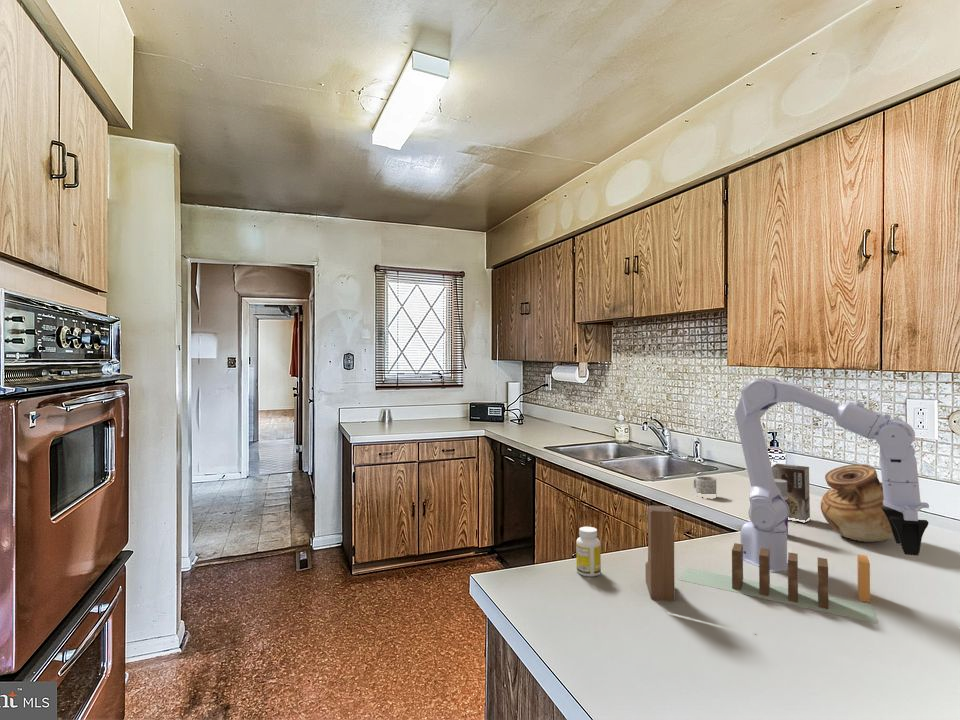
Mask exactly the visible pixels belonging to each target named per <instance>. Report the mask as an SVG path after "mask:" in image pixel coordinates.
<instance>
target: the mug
mask: <svg viewBox="0 0 960 720" xmlns="http://www.w3.org/2000/svg"><path fill="white" fill-rule="evenodd" d="M692 482H693V483H692V485H693V489H694V488H695V489H696V491H695V493H696V492H697V493H701V494H716V495H717V478H716V477H711V476H703V475H702V476H700V475H699V476H696V477H694V478H693V481H692Z"/></svg>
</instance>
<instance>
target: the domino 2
mask: <svg viewBox="0 0 960 720" xmlns="http://www.w3.org/2000/svg"><path fill="white" fill-rule="evenodd" d="M758 573H759V574H758V578H759V580H758V582H759V594H760V595H765V596H769V589H770V585H771V583H770V582H771V581H770V580H771V578H770V577H771V576H770V575H771V572H770V549H767V548H761V549H760V553H759V567H758Z"/></svg>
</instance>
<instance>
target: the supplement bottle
mask: <svg viewBox="0 0 960 720" xmlns="http://www.w3.org/2000/svg"><path fill="white" fill-rule="evenodd" d="M578 532H579V533H578V535H579V537H577V539H576V543H575V544H576V547H575V549H576V572H577V573H578V574H579V575H581V576H585V577H596V576H597V577H598V576H599V575H601V572H602V571H601V570H602V568H601V565H602V564H601V563H602V561H601V560H602V559H601V541H600V540H599V538H598V529H597V528H596V527H592V526H581V527H579V530H578Z"/></svg>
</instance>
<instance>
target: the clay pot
mask: <svg viewBox="0 0 960 720" xmlns="http://www.w3.org/2000/svg"><path fill="white" fill-rule="evenodd" d="M824 479H825V481H826V483H827V486H828V487H830V489H828V490H827V491H826V492H825V493H824V494H823V496H822V498H821V499H820V500H821V501H820V510H821V513H822V516H823V517H824V519H825V521H826V522H827V523H828V524H829V526H830V527H831V528H832V529H833V531H835V532H836V533H837V534H839V535H841V536H843V537H845V538H847V539H849V538H850V539H849V540H852V539H853V540H852V541H856V540H857V542H862V541H863V542H864V543H865V542H866V543H870V542H875V543H877V542H881V541H885V540H888V539H891V538H894V536H893V533H892V530H891V527H890V524H889V521H888V519H887V517H886V515H885V513H884V512H883V510H882V509H881V507H886V506H884V505H883V500H884V496H883V486H882V481H880V480H879V478H878V474H877V470H876V469H875V468H874V467H873V466H871V465H867V464H848V465H843V466H839V467H836V468H834V469H832V470H830V471H828V472H826V474H825V476H824Z"/></svg>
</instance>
